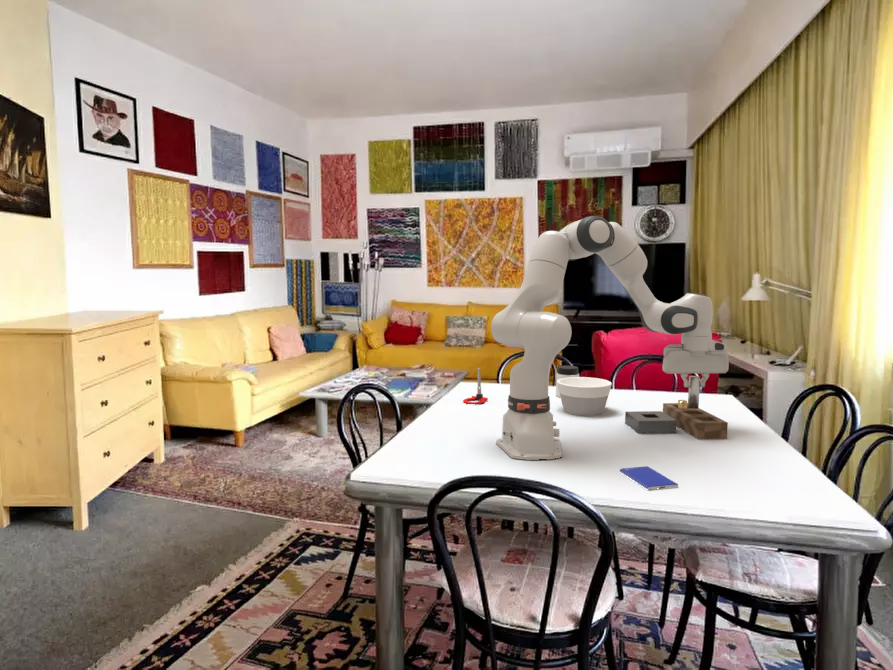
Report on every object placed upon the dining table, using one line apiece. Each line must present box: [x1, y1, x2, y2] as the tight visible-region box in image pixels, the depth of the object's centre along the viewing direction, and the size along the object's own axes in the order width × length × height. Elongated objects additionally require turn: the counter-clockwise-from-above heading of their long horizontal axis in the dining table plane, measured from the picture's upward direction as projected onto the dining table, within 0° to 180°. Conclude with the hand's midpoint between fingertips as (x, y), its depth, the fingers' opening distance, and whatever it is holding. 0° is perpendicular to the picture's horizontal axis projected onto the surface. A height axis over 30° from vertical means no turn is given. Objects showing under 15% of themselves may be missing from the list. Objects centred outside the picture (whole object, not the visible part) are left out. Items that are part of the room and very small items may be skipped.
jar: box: [555, 365, 580, 399], centre depth 236 cm, size 9×8×12 cm
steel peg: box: [687, 375, 701, 409], centre depth 189 cm, size 3×3×10 cm
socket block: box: [624, 410, 677, 434], centre depth 189 cm, size 12×12×4 cm
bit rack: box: [662, 402, 729, 440], centre depth 190 cm, size 26×9×5 cm, turn 2°
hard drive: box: [619, 465, 679, 490], centre depth 143 cm, size 2×8×12 cm
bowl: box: [557, 376, 613, 417], centre depth 212 cm, size 19×19×11 cm
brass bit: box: [677, 399, 688, 408], centre depth 197 cm, size 3×3×7 cm
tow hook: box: [462, 367, 489, 405], centre depth 226 cm, size 8×13×9 cm
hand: (694, 387), depth 188 cm, fingers closed on steel peg, 3 cm apart
